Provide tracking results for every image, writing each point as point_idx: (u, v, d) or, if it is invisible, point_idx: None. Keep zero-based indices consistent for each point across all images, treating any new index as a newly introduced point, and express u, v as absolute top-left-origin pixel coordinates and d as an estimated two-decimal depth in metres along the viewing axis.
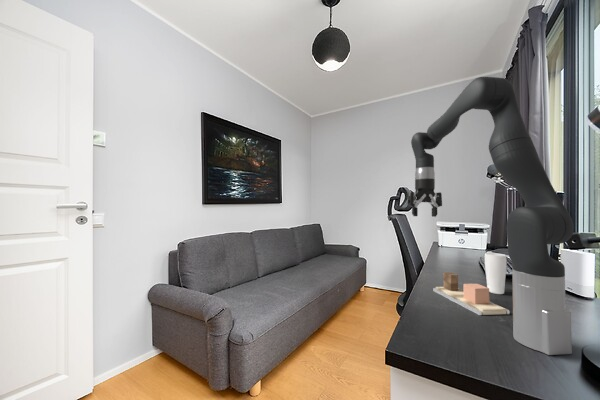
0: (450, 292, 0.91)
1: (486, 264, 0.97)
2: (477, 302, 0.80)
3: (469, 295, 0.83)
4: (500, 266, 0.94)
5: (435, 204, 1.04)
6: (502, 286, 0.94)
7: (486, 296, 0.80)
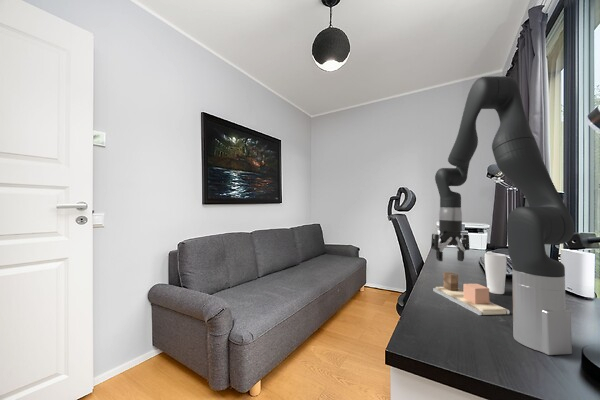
0: (450, 292, 0.91)
1: (486, 264, 0.97)
2: (477, 302, 0.80)
3: (469, 295, 0.83)
4: (500, 266, 0.94)
5: (462, 248, 0.94)
6: (502, 286, 0.94)
7: (486, 296, 0.80)
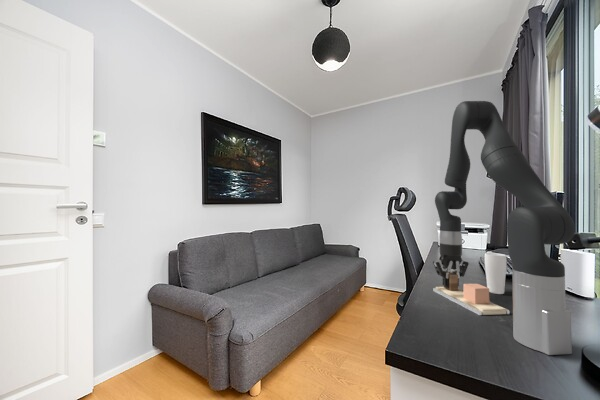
0: (450, 292, 0.91)
1: (486, 264, 0.97)
2: (477, 302, 0.80)
3: (469, 295, 0.83)
4: (500, 266, 0.94)
5: (457, 274, 0.94)
6: (502, 286, 0.94)
7: (486, 296, 0.80)
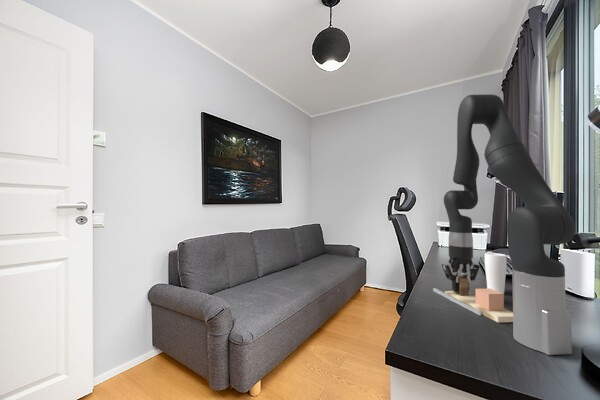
0: (460, 297, 0.86)
1: (486, 264, 0.97)
2: (491, 308, 0.75)
3: (481, 301, 0.77)
4: (500, 266, 0.94)
5: (468, 278, 0.89)
6: (502, 286, 0.94)
7: (500, 302, 0.75)
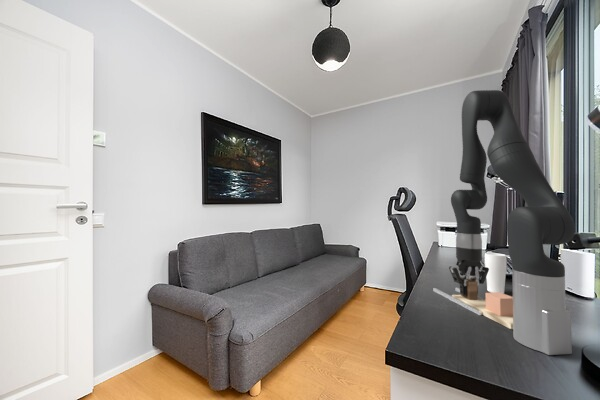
0: (469, 301, 0.82)
1: (486, 264, 0.97)
2: (502, 314, 0.71)
3: (492, 306, 0.74)
4: (500, 266, 0.94)
5: (477, 281, 0.85)
6: (502, 286, 0.94)
7: (512, 307, 0.72)
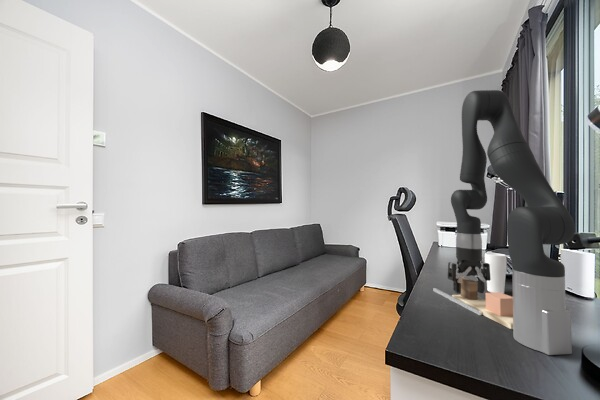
0: (469, 301, 0.82)
1: None
2: (502, 314, 0.71)
3: (492, 306, 0.74)
4: (500, 266, 0.94)
5: (482, 278, 0.85)
6: (502, 286, 0.94)
7: (512, 307, 0.72)
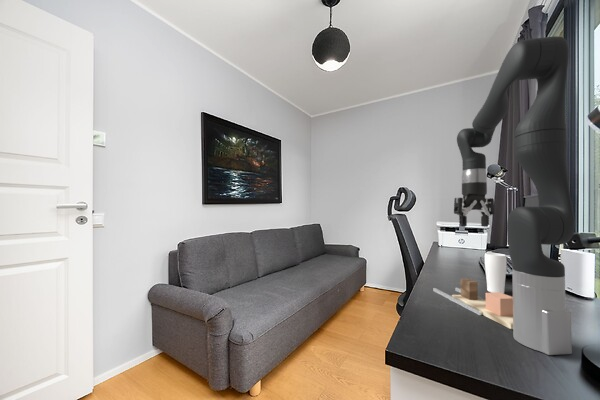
0: (469, 301, 0.82)
1: (486, 264, 0.97)
2: (502, 314, 0.71)
3: (492, 306, 0.74)
4: (500, 266, 0.94)
5: (487, 212, 0.89)
6: (502, 286, 0.94)
7: (512, 307, 0.72)
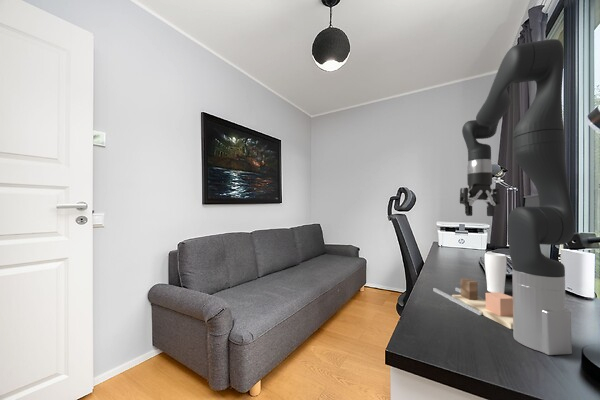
0: (469, 301, 0.82)
1: (486, 264, 0.97)
2: (502, 314, 0.71)
3: (492, 306, 0.74)
4: (500, 266, 0.94)
5: (492, 202, 0.91)
6: (502, 286, 0.94)
7: (512, 307, 0.72)
